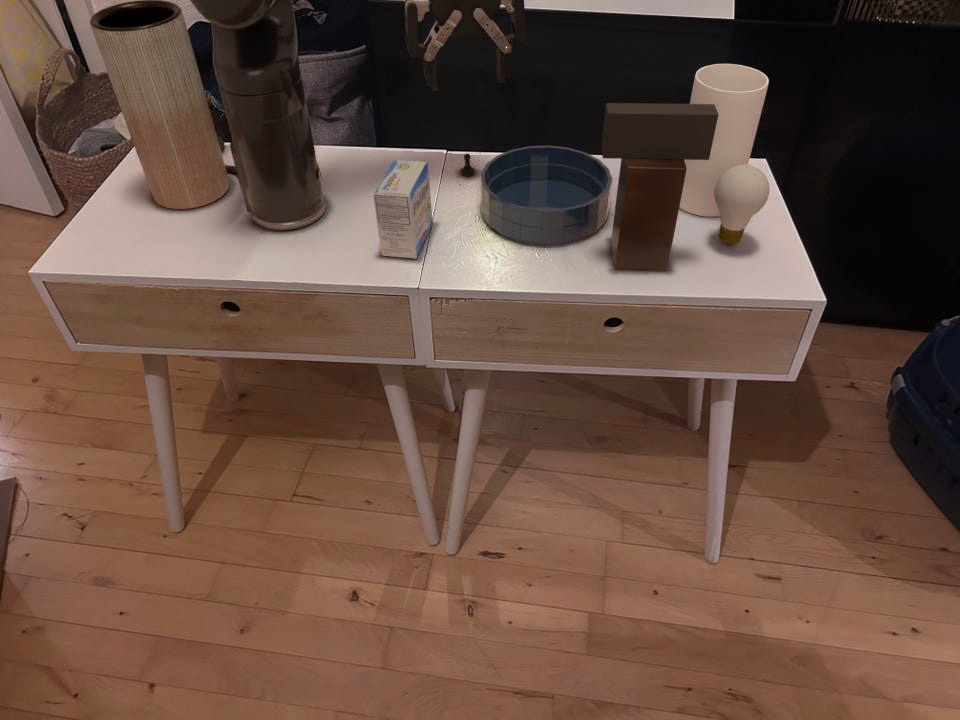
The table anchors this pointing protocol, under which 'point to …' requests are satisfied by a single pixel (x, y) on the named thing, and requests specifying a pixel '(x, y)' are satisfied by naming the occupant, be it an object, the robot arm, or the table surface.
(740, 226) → the light bulb
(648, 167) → the stand
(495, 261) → the table surface
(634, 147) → the dark brown flat block
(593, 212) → the bowl
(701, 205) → the cup
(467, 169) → the chess pawn
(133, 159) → the table surface
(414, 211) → the medicine box
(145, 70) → the planter
